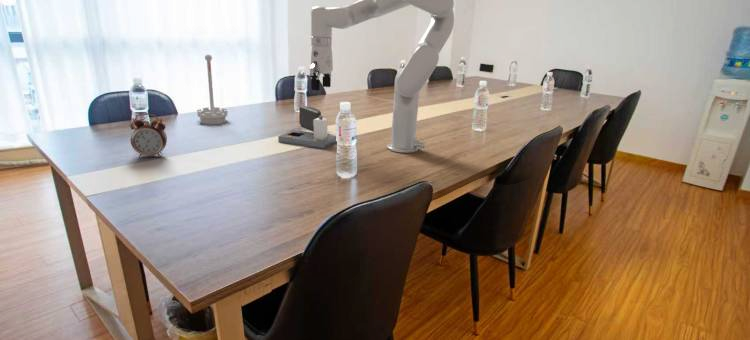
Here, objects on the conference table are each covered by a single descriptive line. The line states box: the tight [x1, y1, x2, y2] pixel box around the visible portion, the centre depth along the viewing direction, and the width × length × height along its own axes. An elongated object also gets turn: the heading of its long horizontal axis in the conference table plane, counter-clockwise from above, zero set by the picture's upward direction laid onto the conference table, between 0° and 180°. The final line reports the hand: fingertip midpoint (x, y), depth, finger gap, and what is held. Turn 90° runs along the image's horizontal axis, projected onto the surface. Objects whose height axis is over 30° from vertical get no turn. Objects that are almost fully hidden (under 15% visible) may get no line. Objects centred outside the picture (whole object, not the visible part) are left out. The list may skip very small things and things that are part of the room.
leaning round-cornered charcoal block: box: [298, 105, 322, 132], centre depth 193 cm, size 16×5×9 cm, turn 39°
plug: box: [313, 115, 328, 141], centre depth 171 cm, size 5×4×11 cm
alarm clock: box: [129, 113, 168, 159], centre depth 145 cm, size 11×5×15 cm, turn 105°
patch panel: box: [278, 129, 337, 150], centre depth 174 cm, size 20×12×3 cm, turn 71°
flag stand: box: [196, 54, 228, 125], centre depth 194 cm, size 13×13×30 cm
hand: (321, 88), depth 165 cm, fingers open, 9 cm apart
